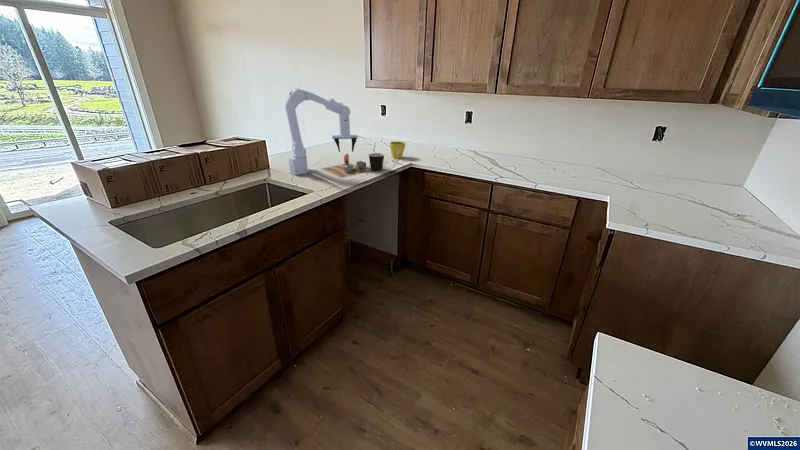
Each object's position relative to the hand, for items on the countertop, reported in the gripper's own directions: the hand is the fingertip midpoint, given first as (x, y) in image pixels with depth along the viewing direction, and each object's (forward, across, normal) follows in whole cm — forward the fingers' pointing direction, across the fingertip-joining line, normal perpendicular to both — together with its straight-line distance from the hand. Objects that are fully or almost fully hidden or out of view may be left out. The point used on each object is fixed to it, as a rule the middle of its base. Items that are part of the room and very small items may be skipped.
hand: (346, 151), depth 195 cm
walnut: (+8, -4, +13) cm, 16 cm away
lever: (+8, 0, +8) cm, 11 cm away
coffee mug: (+10, -17, +10) cm, 22 cm away
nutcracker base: (+10, +2, +9) cm, 14 cm away
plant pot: (+10, -35, -21) cm, 42 cm away
